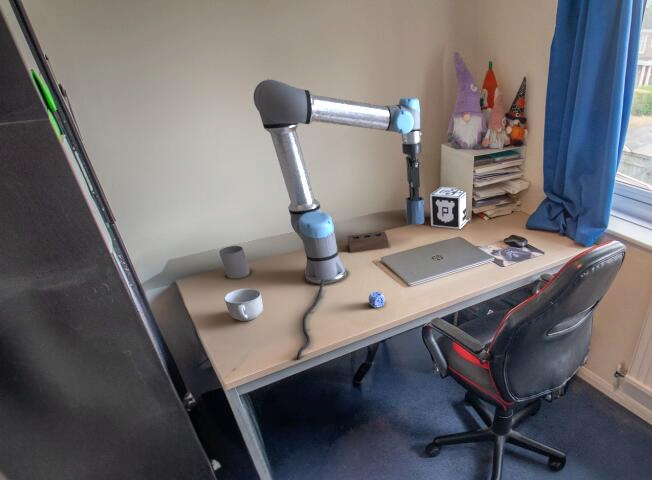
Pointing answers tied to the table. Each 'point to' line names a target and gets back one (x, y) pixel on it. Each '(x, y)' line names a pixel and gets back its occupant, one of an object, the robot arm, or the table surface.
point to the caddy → (367, 241)
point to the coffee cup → (415, 211)
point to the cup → (234, 262)
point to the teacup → (244, 304)
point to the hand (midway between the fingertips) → (414, 201)
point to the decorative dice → (376, 299)
